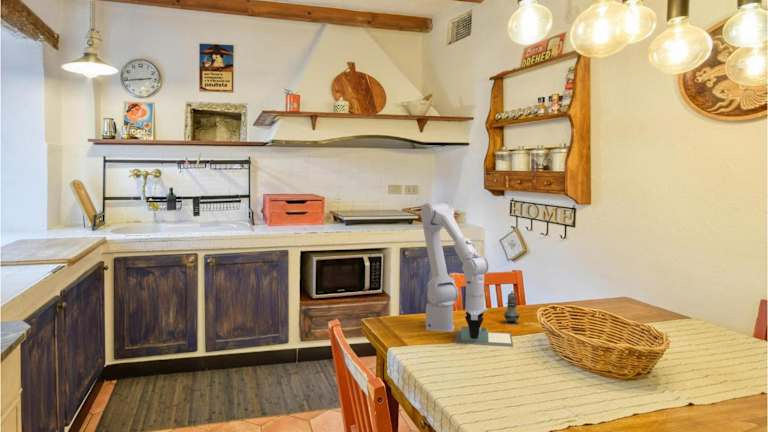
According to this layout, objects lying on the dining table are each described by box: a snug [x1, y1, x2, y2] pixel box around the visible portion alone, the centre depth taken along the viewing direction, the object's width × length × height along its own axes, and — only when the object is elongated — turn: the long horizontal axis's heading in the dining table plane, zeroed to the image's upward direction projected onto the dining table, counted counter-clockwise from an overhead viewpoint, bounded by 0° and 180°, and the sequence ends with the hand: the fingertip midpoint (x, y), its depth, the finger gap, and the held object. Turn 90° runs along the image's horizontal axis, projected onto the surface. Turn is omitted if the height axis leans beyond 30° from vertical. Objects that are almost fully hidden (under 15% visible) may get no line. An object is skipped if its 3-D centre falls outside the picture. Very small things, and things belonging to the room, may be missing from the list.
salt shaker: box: [502, 290, 521, 326], centre depth 179 cm, size 6×6×12 cm
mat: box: [454, 329, 514, 348], centre depth 161 cm, size 18×14×1 cm
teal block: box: [461, 326, 488, 342], centre depth 159 cm, size 8×4×4 cm, turn 79°
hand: (474, 336), depth 159 cm, fingers closed on teal block, 4 cm apart
